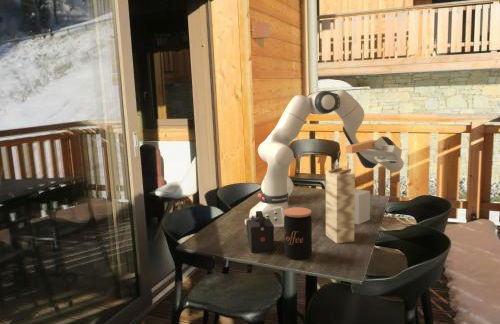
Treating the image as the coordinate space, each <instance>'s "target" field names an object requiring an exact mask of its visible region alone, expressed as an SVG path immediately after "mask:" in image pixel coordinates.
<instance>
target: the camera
mask: <svg viewBox="0 0 500 324" xmlns="http://www.w3.org/2000/svg"><path fill="white" fill-rule="evenodd" d="M245 219H246V224H245V226H246V233H245V234H246V242H247V246H248V248H249V249H250V252H251V253H255V252H256V253H263V252H264V251H266V252H272V251H273V252H274V251H275V231H274V230H275V228H274V225H273V224H272V222H271V220H270V219H269V217H268V216H266V217H263V213H262V211H256V216H252V218H249V217H246V218H245Z"/></svg>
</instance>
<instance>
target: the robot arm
mask: <svg viewBox="0 0 500 324" xmlns="http://www.w3.org/2000/svg"><path fill="white" fill-rule="evenodd" d="M333 112H334V113H336V114H337V116H338V117H339V118H340V119H341V120H342V123H343V126H342V131H343V133H344V136H345V138H346V139H347V141H348V142H349V145H352V144H356V143H360V141H359V140H358V138H357V136H356V135H357V132H358V130H359V128H360V127H361V125H362V123H363V121H364V119H365V109H364V108H363V107H362V105H361V104H360V103H359V102H358V100H357V99H355V97H353V96H352V94H350V93H349V92H348V91H346V90H344V89H338V90H336V91H333V92H332V91H329V90H317V91H315V92H312V93H310V94H308V95H307V96H306V95H303V94H296V95H294V96H293V97H292V99H291V100H290V101H289V102H288V104H287V105H286V107H285V109H284V111H283V113H282V114H281V116H280V118H279V120H278V122H277V124H276V125H275V127H274V128H273V129H272V131H271V132H270V134H269V135H268V136H267V137H266V138H265V139H264V141H262V142H261V143H260V144H259V146H258V147H257V153H258V156H259V158H260V159H261V160H262V161H263V162H265V163H267V168H266V174H265V175H264V177H263V180H264V193H261V192H260V193H258V194H257V198H259V199H260V201H259V202H258V203H257V204H255V206H253V207H252V208H250V210H249V216H248V218H252V216H256V211H262V213H263V217H266V216H268V217H269V219H270V220H271V222H272V224H273V225H274V229H275V228H284V216H285V214H284V210H285V209H288V208H289V203H290V199H289V197H290V195H289V196H288V193H287V176H289V170H290V167H291V164H292V163H293V162H294V157H295V155H294V151H293V150H292V149H291V148H290V146H289V145H290V144H291V142H293V141H294V140H295V139H296V138H297V137H298V136H299V134H300V132H301V130H302V128H303V126H304V124H305V122H306V120H307V118H308V117H309V115H310V114H313V115H319V116H320V115H321V116H322V115H328V114H331V113H333ZM376 140H377V142H374V143H373V146H374V147H375V148H371V149H367V150H364V151H360V152H356V153H355V154H356V157H358V160H359V162H360V164H361V166H363V167H364V168H365V169H374V167H376V166H377V165H378V164H379V165H381V166H382V167H383V168H385V169H386V170H388V171H389V172H392V173H398V172H400V171H401V170H402V169H403V168H404V165H405V163H404V160H403V159H402V157H401V156H402V152H403V151H402V149H401V148H400V147H398V146H397V145H396V143H395V142H394V141H392V140H391V138H389V137H388V136H382V135H381V137H378V138H377V139H376ZM288 202H289V203H288ZM244 224H245V225H246V218H245V219H244Z"/></svg>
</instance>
